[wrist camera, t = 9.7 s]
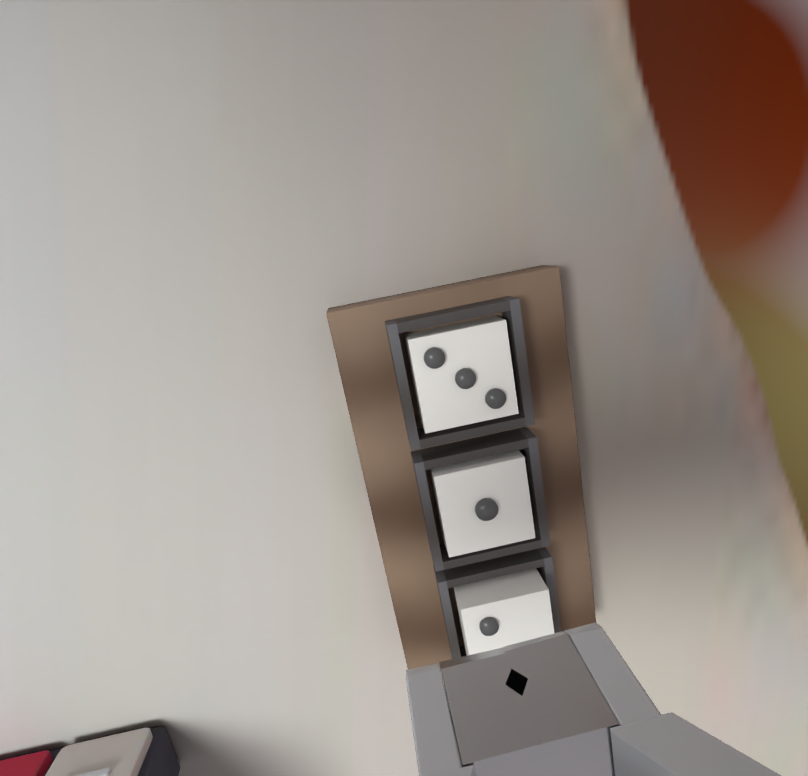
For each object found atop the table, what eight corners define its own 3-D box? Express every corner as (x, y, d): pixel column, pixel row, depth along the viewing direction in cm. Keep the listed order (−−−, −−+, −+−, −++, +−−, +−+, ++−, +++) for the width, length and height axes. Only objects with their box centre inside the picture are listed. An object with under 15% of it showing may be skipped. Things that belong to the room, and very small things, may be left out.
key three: (404, 334, 22) (408, 340, 20) (495, 315, 22) (507, 320, 20) (420, 421, 23) (426, 435, 21) (507, 402, 23) (520, 414, 21)
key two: (453, 587, 24) (461, 613, 22) (536, 568, 24) (550, 592, 22) (466, 656, 25) (475, 685, 23) (545, 637, 25) (559, 665, 23)
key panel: (328, 308, 23) (324, 317, 20) (542, 265, 24) (572, 267, 20) (405, 649, 28) (413, 701, 25) (580, 608, 29) (610, 654, 25)
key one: (428, 462, 23) (434, 479, 22) (513, 443, 23) (525, 458, 22) (442, 538, 24) (449, 560, 23) (523, 520, 25) (537, 540, 23)
